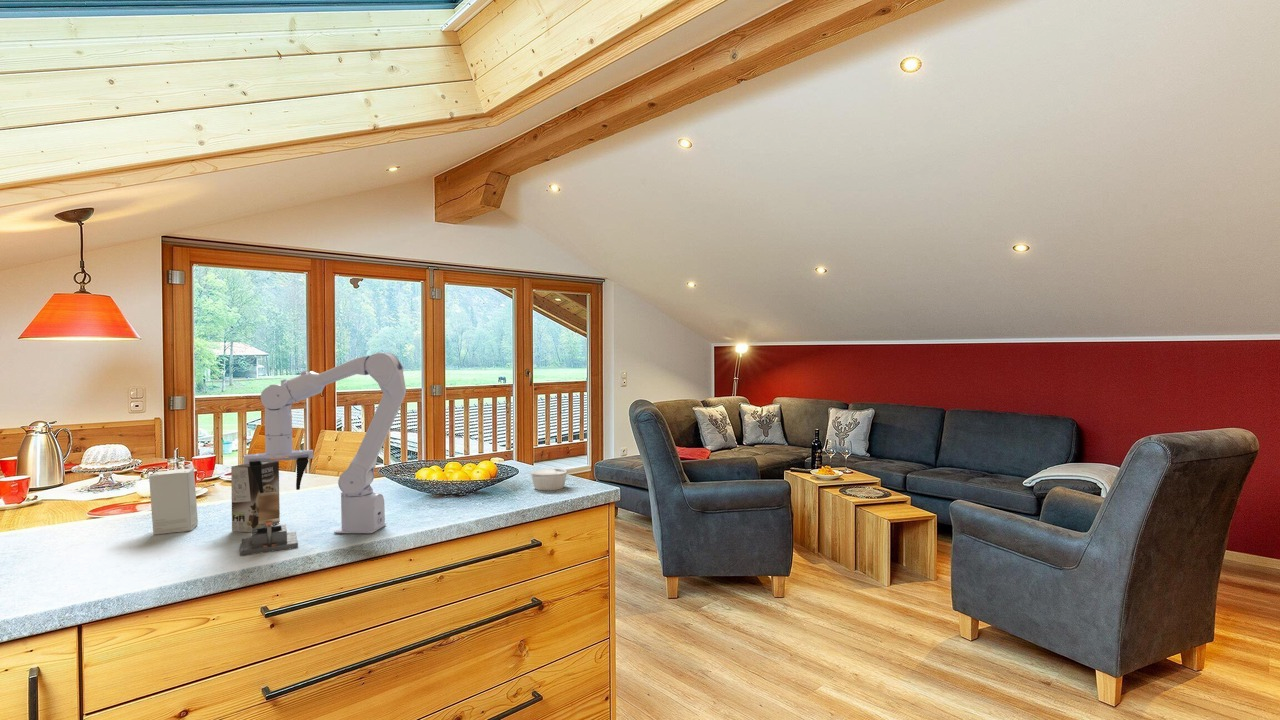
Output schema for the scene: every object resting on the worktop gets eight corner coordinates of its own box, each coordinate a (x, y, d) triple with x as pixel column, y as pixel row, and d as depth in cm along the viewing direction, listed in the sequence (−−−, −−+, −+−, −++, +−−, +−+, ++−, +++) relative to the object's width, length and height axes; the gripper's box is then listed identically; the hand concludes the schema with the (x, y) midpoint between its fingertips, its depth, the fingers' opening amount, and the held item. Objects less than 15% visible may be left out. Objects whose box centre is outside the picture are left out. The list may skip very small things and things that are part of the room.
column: (279, 517, 150) (278, 491, 150) (279, 521, 146) (279, 494, 146) (258, 520, 148) (258, 493, 148) (258, 524, 144) (257, 496, 144)
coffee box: (253, 532, 158) (252, 466, 158) (230, 531, 159) (229, 466, 159) (281, 523, 167) (280, 460, 167) (259, 522, 168) (258, 459, 168)
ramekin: (574, 487, 207) (574, 470, 206) (546, 493, 198) (546, 476, 198) (552, 482, 214) (551, 466, 214) (524, 488, 206) (524, 471, 206)
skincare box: (198, 525, 165) (197, 467, 165) (190, 531, 160) (189, 471, 159) (158, 529, 162) (157, 470, 162) (150, 535, 157) (148, 474, 156)
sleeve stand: (296, 535, 155) (295, 508, 155) (298, 547, 145) (297, 518, 145) (241, 543, 149) (241, 515, 149) (240, 555, 140) (239, 525, 140)
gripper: (242, 438, 149) (244, 497, 149) (313, 434, 156) (314, 490, 156) (243, 435, 155) (245, 492, 155) (311, 431, 162) (312, 485, 163)
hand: (279, 490), depth 156 cm, fingers open, 7 cm apart
